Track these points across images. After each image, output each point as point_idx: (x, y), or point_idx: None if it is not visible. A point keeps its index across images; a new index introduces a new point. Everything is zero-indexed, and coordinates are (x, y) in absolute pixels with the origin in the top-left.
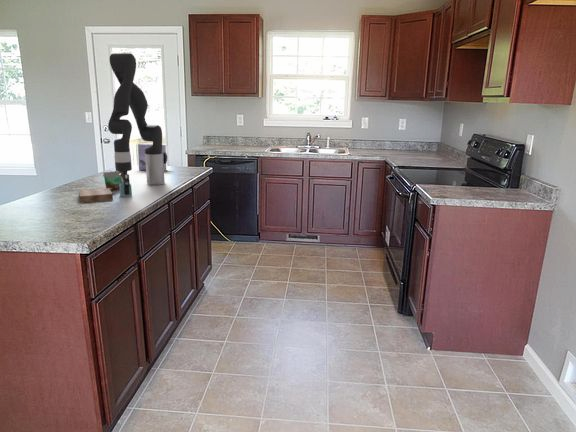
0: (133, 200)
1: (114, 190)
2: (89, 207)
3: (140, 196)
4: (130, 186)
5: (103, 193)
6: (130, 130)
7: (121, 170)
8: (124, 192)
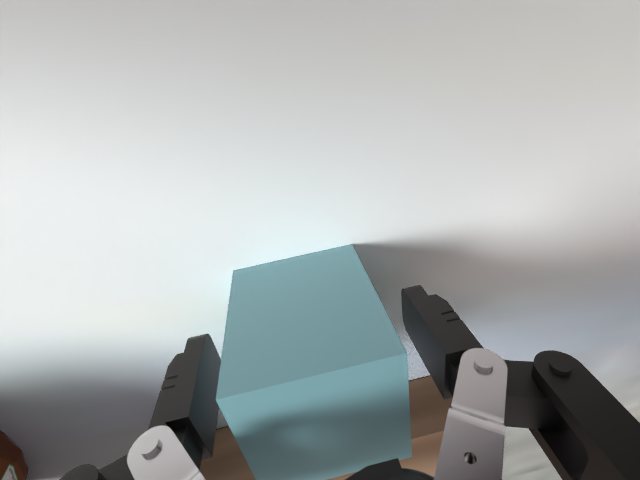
0: (562, 215)
1: (3, 435)
2: None
3: (396, 146)
4: (396, 338)
5: (432, 473)
6: None
7: None
8: (415, 342)
